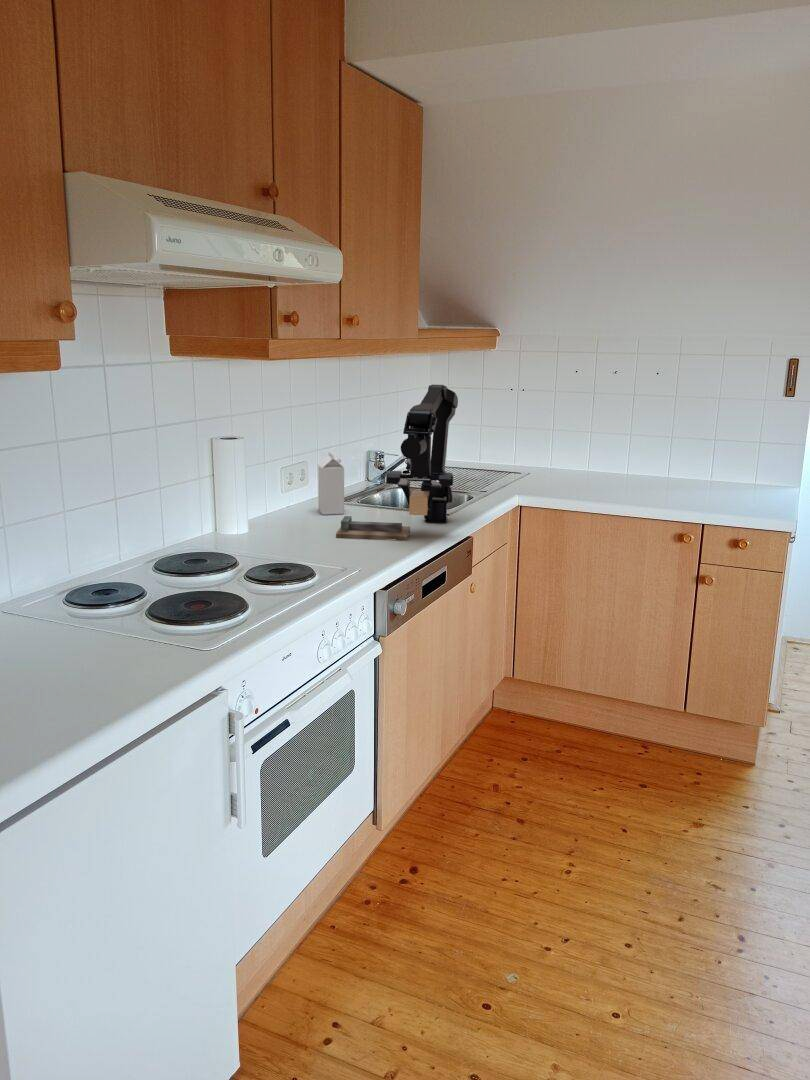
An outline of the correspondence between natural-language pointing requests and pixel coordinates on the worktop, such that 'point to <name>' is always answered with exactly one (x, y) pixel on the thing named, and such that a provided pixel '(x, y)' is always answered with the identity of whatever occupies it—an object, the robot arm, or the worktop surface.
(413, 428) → the robot arm
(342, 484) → the milk carton
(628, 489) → the worktop surface
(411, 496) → the block
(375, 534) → the rail board
